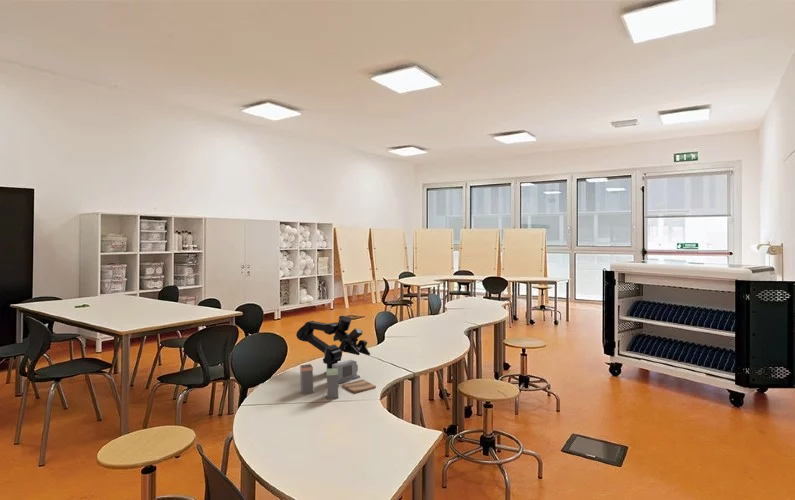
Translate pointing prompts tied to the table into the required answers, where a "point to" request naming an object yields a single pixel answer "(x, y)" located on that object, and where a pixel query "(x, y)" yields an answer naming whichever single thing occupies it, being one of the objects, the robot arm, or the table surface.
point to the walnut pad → (358, 386)
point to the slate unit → (346, 370)
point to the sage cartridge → (332, 383)
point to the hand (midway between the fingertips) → (364, 354)
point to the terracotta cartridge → (306, 378)
